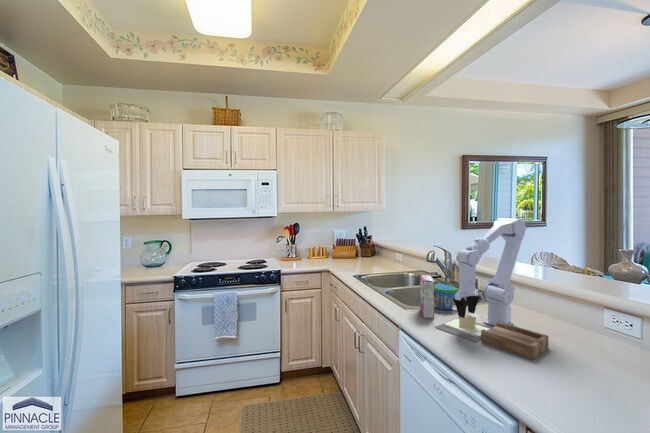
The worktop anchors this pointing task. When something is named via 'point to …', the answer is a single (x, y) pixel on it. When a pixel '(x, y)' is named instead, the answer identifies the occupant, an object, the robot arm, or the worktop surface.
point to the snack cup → (444, 296)
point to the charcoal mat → (460, 334)
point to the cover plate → (465, 330)
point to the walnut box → (515, 340)
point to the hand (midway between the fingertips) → (466, 314)
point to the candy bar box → (427, 296)
